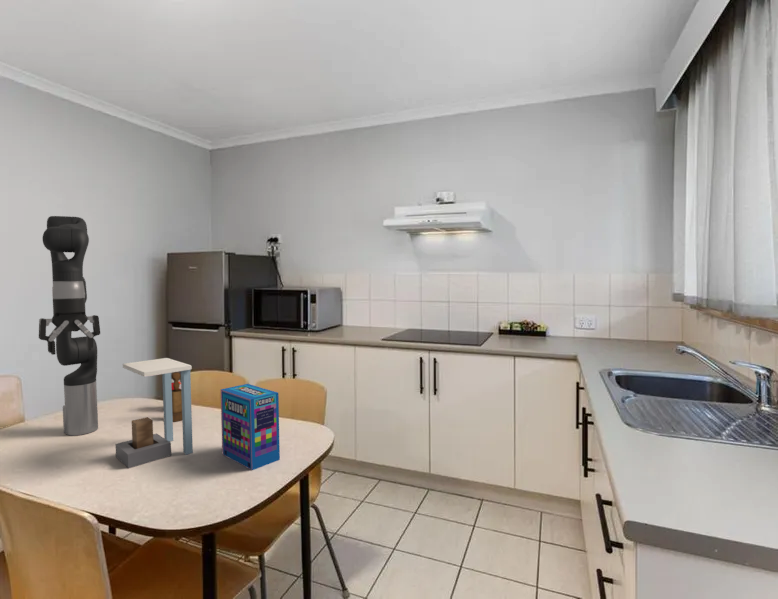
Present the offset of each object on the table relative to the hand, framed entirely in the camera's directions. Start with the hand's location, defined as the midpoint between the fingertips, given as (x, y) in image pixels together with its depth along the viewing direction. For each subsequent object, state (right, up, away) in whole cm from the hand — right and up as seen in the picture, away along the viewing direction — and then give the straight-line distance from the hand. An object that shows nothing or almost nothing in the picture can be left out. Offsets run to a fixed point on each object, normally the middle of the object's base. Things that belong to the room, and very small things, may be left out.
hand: (71, 352), depth 124 cm
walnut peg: (+19, -32, +4) cm, 37 cm away
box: (+52, -32, +3) cm, 61 cm away
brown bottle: (+12, -30, +38) cm, 50 cm away
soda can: (+5, -30, +50) cm, 58 cm away
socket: (+19, -32, +4) cm, 37 cm away
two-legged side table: (+22, -32, +7) cm, 39 cm away
